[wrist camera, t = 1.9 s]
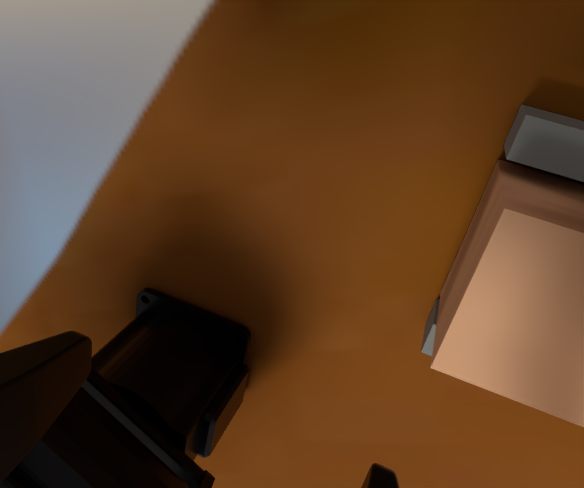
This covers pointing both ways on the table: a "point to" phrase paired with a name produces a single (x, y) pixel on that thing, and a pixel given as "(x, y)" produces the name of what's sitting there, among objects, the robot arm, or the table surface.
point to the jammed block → (519, 294)
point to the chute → (535, 161)
